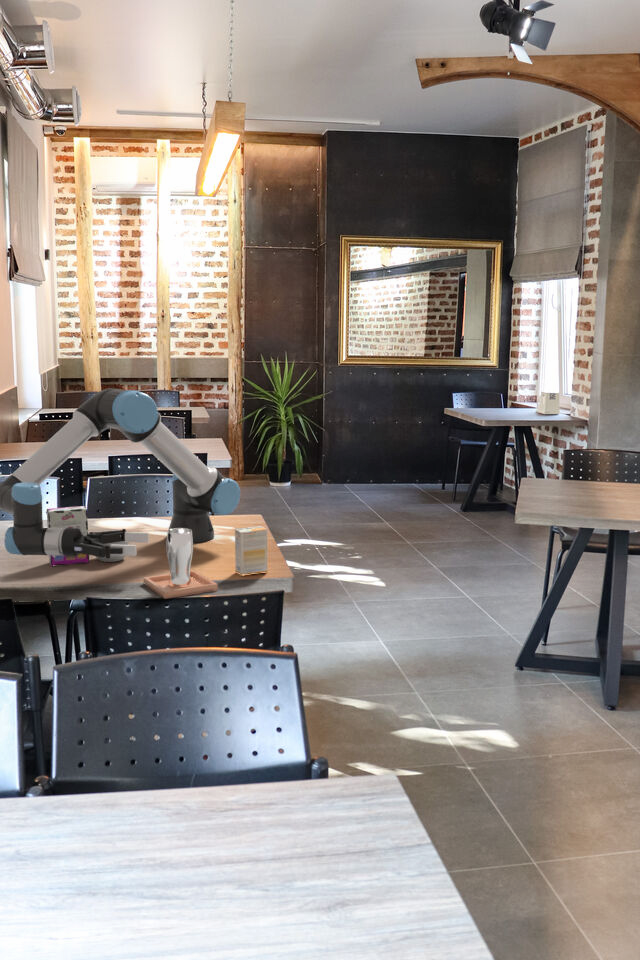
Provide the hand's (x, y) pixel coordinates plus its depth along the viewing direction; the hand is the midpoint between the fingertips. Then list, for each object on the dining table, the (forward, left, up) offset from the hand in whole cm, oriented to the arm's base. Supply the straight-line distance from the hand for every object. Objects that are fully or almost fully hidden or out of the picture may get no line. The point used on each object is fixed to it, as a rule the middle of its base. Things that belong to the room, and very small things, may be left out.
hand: (142, 543), depth 242 cm
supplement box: (-31, +3, -12) cm, 33 cm away
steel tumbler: (-8, +6, -11) cm, 15 cm away
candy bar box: (+11, -32, -12) cm, 36 cm away
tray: (-8, +6, -12) cm, 15 cm away
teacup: (-2, -31, -12) cm, 33 cm away
